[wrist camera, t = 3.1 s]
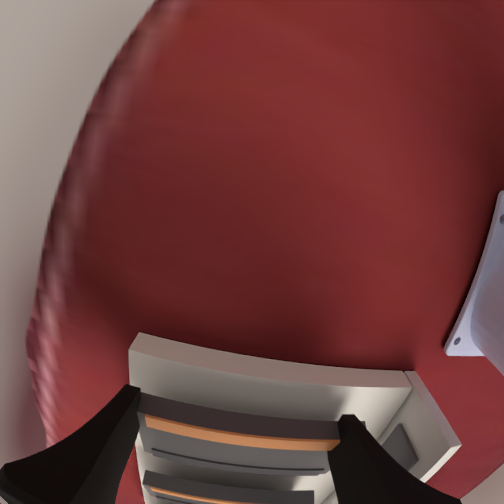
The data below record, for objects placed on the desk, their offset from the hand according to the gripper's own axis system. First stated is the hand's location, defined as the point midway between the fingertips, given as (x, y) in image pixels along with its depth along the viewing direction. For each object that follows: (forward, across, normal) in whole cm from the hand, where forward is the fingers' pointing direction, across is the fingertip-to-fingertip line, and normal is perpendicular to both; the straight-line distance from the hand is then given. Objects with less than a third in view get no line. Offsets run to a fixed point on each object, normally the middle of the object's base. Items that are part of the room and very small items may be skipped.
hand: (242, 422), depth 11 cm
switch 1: (0, -1, +2) cm, 2 cm away
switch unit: (+3, -2, +9) cm, 10 cm away
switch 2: (0, -1, +9) cm, 9 cm away
